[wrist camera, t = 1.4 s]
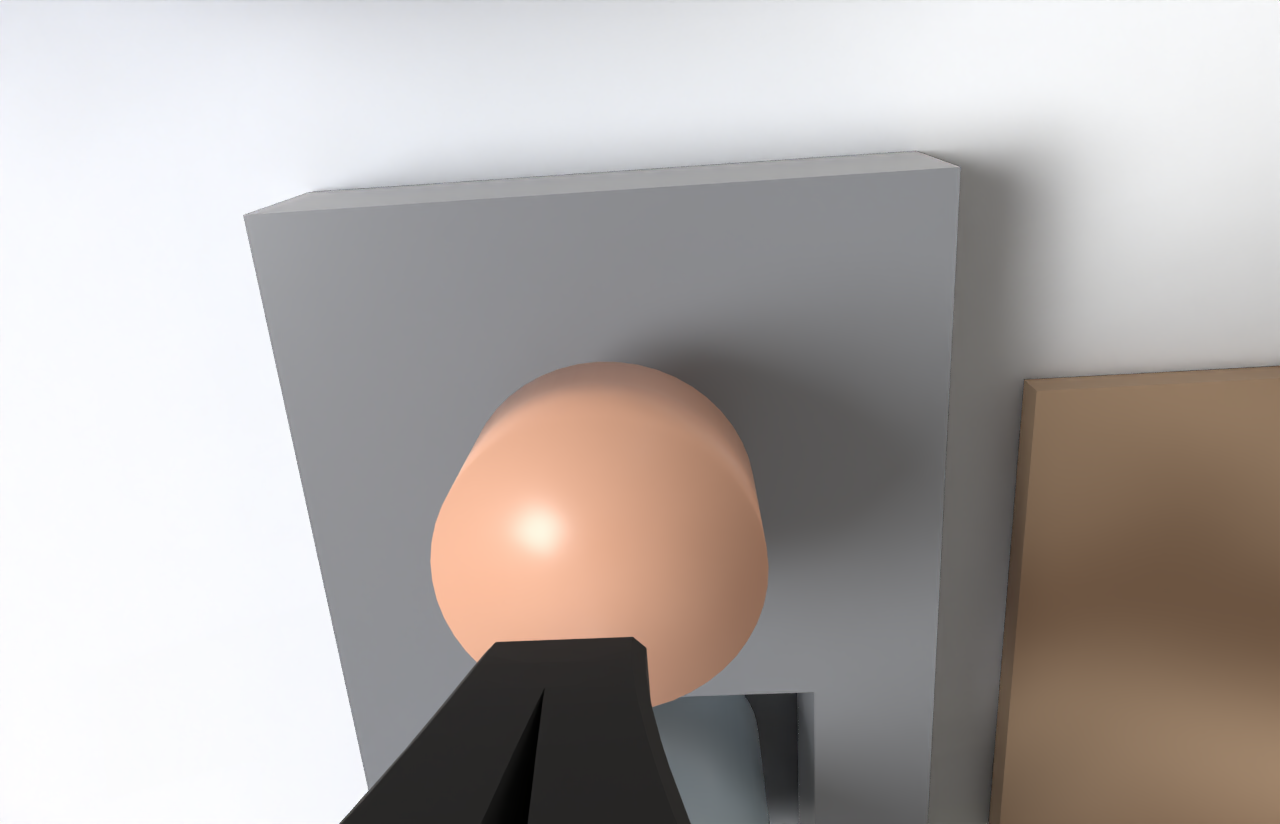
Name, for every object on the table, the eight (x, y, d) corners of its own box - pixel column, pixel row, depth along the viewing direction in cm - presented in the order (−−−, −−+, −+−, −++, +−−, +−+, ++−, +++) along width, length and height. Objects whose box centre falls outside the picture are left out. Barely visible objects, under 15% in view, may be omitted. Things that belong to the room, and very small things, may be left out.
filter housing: (891, 897, 20) (918, 1005, 18) (445, 907, 21) (417, 1012, 19) (915, 150, 15) (961, 166, 12) (309, 192, 15) (242, 214, 13)
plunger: (758, 617, 13) (771, 706, 12) (485, 627, 14) (455, 718, 12) (751, 353, 12) (764, 406, 10) (447, 370, 12) (405, 425, 10)
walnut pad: (1381, 815, 19) (1402, 837, 19) (988, 825, 20) (998, 847, 19) (1506, 354, 16) (1537, 364, 15) (1024, 379, 16) (1036, 391, 16)
